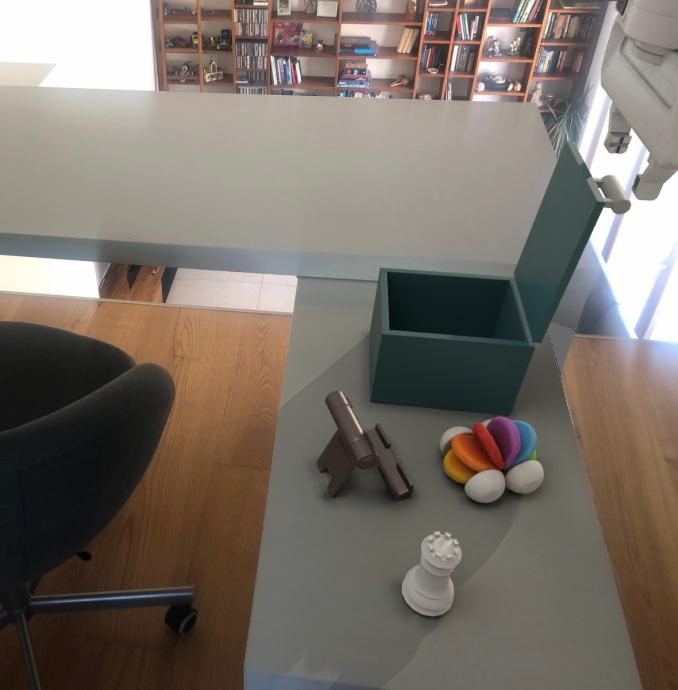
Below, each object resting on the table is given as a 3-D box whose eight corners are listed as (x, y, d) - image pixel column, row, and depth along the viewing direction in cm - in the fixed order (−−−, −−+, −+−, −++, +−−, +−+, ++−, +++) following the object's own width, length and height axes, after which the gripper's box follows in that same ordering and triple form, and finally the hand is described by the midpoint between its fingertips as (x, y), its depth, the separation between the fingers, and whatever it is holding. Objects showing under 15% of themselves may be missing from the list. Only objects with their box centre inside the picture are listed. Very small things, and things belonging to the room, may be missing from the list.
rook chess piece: (396, 573, 64) (410, 521, 58) (444, 572, 64) (463, 520, 58) (406, 619, 60) (422, 569, 55) (458, 618, 60) (478, 568, 55)
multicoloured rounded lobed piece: (423, 450, 74) (436, 403, 70) (505, 433, 76) (522, 386, 71) (463, 514, 68) (479, 467, 63) (550, 494, 70) (573, 446, 65)
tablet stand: (412, 499, 70) (427, 444, 64) (338, 515, 68) (347, 460, 63) (377, 436, 76) (388, 381, 71) (309, 449, 75) (315, 394, 70)
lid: (596, 201, 60) (654, 207, 60) (565, 139, 70) (615, 145, 69) (532, 342, 71) (581, 349, 71) (513, 273, 81) (555, 278, 80)
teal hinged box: (370, 402, 80) (381, 333, 73) (369, 333, 90) (379, 267, 83) (510, 415, 78) (535, 346, 71) (494, 343, 88) (515, 276, 81)
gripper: (792, 56, 47) (705, 232, 56) (687, -17, 63) (632, 130, 72) (693, 53, 48) (622, 227, 57) (613, -18, 64) (568, 127, 73)
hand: (627, 172), depth 65 cm, fingers open, 8 cm apart
